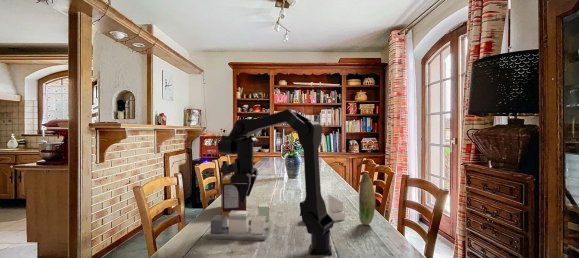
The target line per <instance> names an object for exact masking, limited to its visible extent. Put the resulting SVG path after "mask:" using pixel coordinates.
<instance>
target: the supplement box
mask: <svg viewBox="0 0 579 258" xmlns="http://www.w3.org/2000/svg"><path fill="white" fill-rule="evenodd" d="M233 174H234V173H230V174H227V175H226V176H223V175H222V174H221V177H220V178H221V180H220V181H221V184H220V185H221V188H220V189H221V191H220V192H221V193H220V194H221V199H220V200H221V204H220V205H221V206H220V208H221V215H227V216H229V213H230V212H231V211H247V197H246V198H245V201H244V203H241V201H240V198H239V194H238V191H237V188H236V187H235V186H234V185H232V184H231V183H230V177H231V176H232V175H233Z"/></svg>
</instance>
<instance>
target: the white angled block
mask: <svg viewBox="0 0 579 258" xmlns="http://www.w3.org/2000/svg"><path fill="white" fill-rule="evenodd" d="M327 197H328V202H327V203H328V205H327V207H328V209H327V214H328V215H329V216H330V217H331V218H332V220H333V221H334V222H335V221H345V220H346V212H345V211H344V202H343V201H341V200H339V199H338V198H336V197H334V196H333V195H331V194H328V195H327Z"/></svg>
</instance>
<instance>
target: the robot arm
mask: <svg viewBox="0 0 579 258" xmlns="http://www.w3.org/2000/svg"><path fill="white" fill-rule="evenodd" d="M284 124H288V125H289V126H290V128H292V130H294V131H295V132H297V133H296V134H297V138H298V141H299V144H300V146H301V149H302V150H303V165H304V184H305V185H304V187H305V199H304V200H302V201H300V202H299V209H300V213H299V217H301V221H302V223H303V224H304V225H305V228H306V231H307V233H308V235H309V234H310V237H311V239H310V244H309V255H313V256H314V255H316V256H317V255H318V256H319V255H320V256H322V255H324V256H332V255H333V251H332V247H331V229H332V228H333V227H334V224H335V221H333V220H332V218H331V217H330V216H329V215H328V209H327V206H326V202H325V200H324V198H323V196H322V191H321V189H322V188H321V177H320V176H321V173H320V171H321V170H320V158H319V157H320V156H319V155H320V154H319V150H320V149H319V148H320V145H321V143H322V138H323V137H322V136H323V127H322V124H321V123H320V122H318V121H315V120H311V119H309V118H308V117H306V116H304V115H302V114H300V113H299V112H298V111H297V110H295V109H290V108H289V109H283V110H282V111H278V112H274V113H272V114H268V115H264V116H260V117H256V118H241V119H240V118H239V119H237V120H235V122H234V124H233V127H232V129H231V131H230V132H229V134H228V135H221V139H220V140H219V142H218V144H217V150H218V152H219V154H221V155H236V158H235V159H234V162H232V163H230V164H228V162H225V163H223V164H221V166H220V168H219V173H220V174H221V176H222V175H223V176H226V175H227V174H233V175H232V176H231V177H230V183H231V184H232V185H234V186H235V187H236V188H237V191H238V194H239V198H240V201H241V203H244V201H245V198H246V199H247V197H250V196H251V193H252V189H253V187H254V185H255V182H256V179H257V177H258V173H259V172H258V171H259V169H258V168H257V167H254V161H255V157H254V143H258V142H259V139H257V138H256V137H255V134H257V133H260V131H262V130H264V129H268V128H272V127H276V126H279V125H284Z"/></svg>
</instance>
